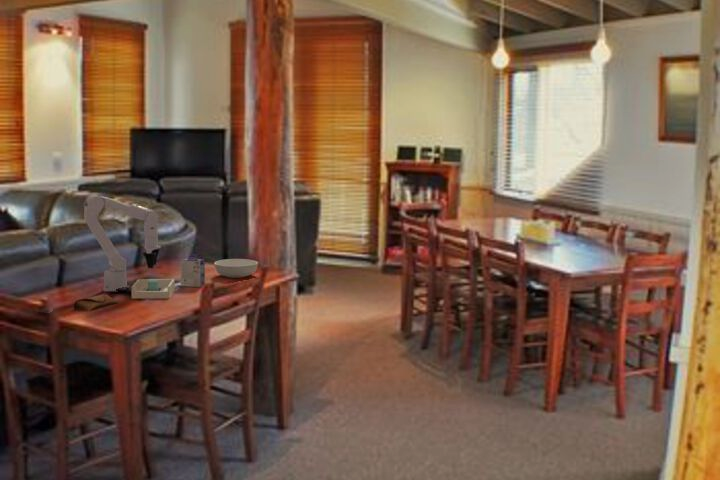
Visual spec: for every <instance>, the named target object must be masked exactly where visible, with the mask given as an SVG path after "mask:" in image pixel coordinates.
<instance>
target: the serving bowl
mask: <svg viewBox="0 0 720 480" xmlns="http://www.w3.org/2000/svg"><path fill="white" fill-rule="evenodd" d="M213 264H214V269H215V271H216V272H217V273H218V274H219V275H220V276H222V277H227V278H230V279H241V278H245V277H247V276H251V275H253V274H254V273H255V272H256V271H257V269H258V265H259V262H258V261H257V260H253V259H246V258H229V259H220V260H217V261H215V262H214V263H213Z"/></svg>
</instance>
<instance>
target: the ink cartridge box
mask: <svg viewBox="0 0 720 480" xmlns="http://www.w3.org/2000/svg"><path fill="white" fill-rule="evenodd" d="M205 271H206V264H205V258H202V259H201V258H198V254H197V253H190V254H189V257H188V258H182V259H181V260H180V286H181V287H192V288H193V287H195V288H201V287H204V286H206V272H205ZM203 285H204V286H203Z"/></svg>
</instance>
